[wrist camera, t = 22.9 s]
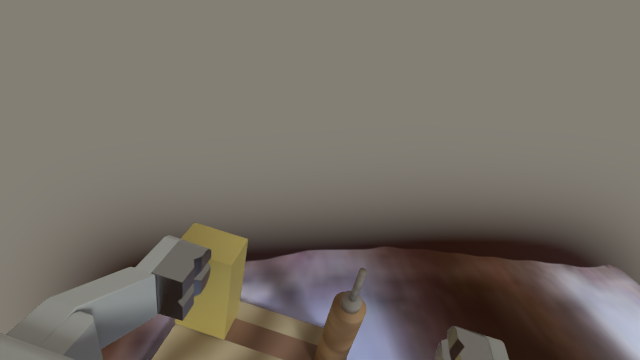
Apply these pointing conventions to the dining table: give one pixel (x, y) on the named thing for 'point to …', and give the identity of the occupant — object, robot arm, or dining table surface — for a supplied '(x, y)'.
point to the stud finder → (217, 281)
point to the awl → (342, 323)
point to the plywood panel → (245, 339)
